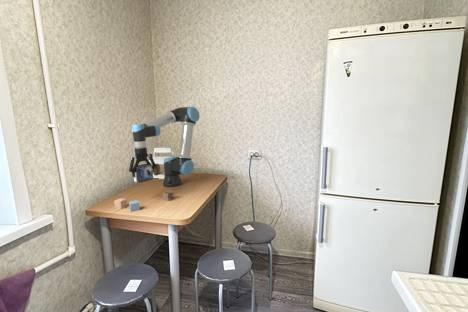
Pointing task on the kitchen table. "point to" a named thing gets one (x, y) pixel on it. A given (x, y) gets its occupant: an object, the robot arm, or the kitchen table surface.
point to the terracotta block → (120, 203)
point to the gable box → (160, 161)
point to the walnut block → (168, 196)
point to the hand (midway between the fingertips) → (144, 179)
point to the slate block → (134, 206)
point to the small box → (144, 172)
